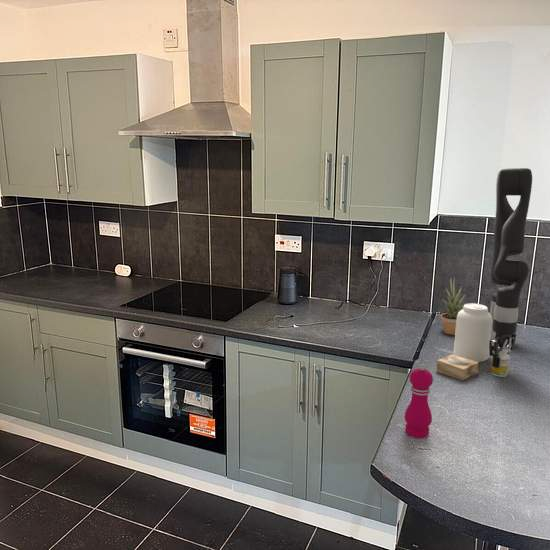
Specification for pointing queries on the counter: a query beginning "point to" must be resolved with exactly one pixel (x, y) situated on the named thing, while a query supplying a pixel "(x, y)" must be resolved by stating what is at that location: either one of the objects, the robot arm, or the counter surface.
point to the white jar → (473, 332)
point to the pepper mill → (419, 403)
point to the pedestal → (457, 366)
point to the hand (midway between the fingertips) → (500, 364)
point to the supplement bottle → (501, 364)
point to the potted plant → (451, 310)
